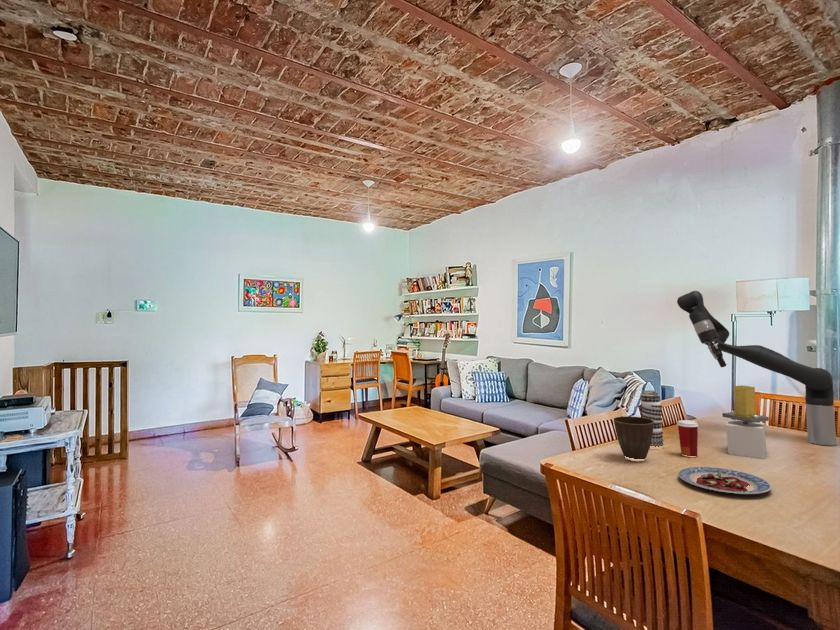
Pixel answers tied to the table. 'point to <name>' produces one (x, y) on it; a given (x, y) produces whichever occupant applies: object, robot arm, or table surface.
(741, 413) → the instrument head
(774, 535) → the table surface
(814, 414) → the robot arm
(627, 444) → the plant pot
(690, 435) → the paper cup
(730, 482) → the ceramic plate
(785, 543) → the table surface
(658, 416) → the grey striped cylinder
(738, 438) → the stand
